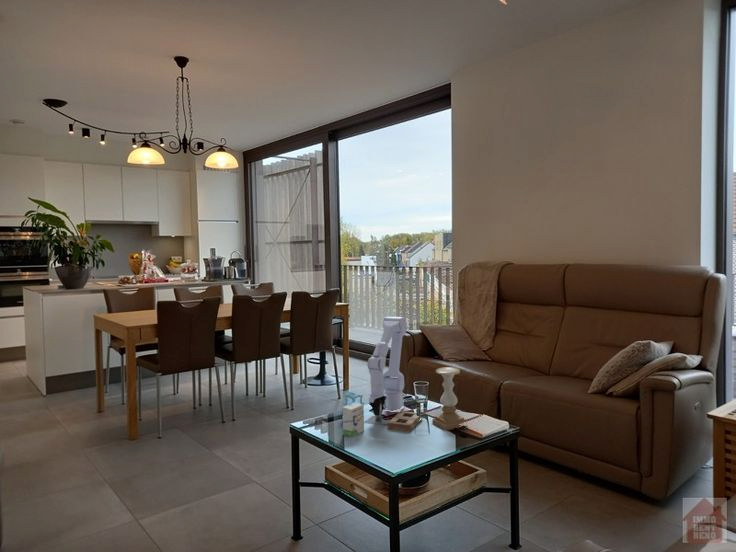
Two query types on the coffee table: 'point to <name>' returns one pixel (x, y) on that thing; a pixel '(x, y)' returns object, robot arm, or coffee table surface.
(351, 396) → the chair
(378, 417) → the peg
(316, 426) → the coffee table surface
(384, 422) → the mat
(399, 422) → the block
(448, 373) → the candle holder
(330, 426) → the coffee table surface
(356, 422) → the ink box
